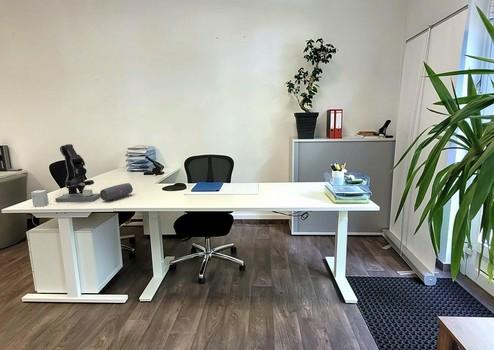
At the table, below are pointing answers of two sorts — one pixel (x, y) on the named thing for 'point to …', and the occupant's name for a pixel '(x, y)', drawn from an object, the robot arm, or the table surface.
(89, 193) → the fader tab
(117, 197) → the bluetooth speaker
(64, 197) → the console
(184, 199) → the table surface
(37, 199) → the small box
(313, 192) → the table surface
